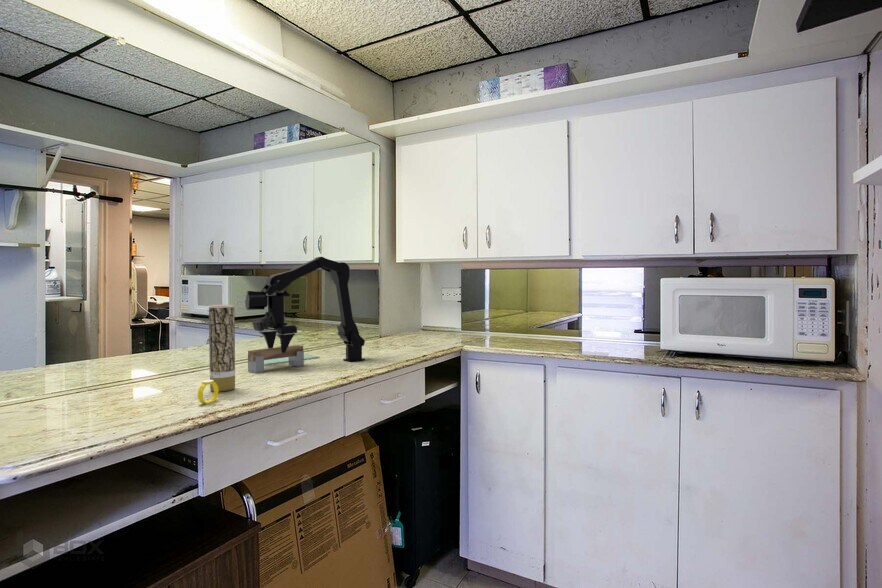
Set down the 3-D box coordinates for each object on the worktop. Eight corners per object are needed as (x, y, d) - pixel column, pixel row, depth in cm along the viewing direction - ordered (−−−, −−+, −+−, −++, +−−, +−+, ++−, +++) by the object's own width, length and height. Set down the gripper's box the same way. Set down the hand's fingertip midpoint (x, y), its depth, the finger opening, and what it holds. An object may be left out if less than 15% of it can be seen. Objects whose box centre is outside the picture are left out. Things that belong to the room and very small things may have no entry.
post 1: (264, 372, 166) (263, 355, 166) (255, 373, 164) (255, 356, 164) (256, 370, 170) (255, 354, 170) (247, 371, 168) (247, 355, 167)
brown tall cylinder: (225, 392, 135) (224, 306, 135) (204, 391, 137) (203, 305, 136) (240, 387, 142) (239, 304, 141) (220, 386, 143) (219, 304, 143)
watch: (204, 407, 121) (203, 384, 121) (195, 406, 122) (194, 383, 122) (221, 399, 127) (220, 378, 127) (213, 399, 128) (211, 377, 127)
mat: (319, 358, 196) (319, 356, 196) (265, 365, 178) (265, 364, 178) (307, 355, 202) (307, 354, 202) (253, 362, 184) (253, 361, 184)
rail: (303, 354, 179) (303, 345, 179) (252, 361, 164) (252, 351, 164) (298, 354, 181) (298, 345, 181) (248, 360, 166) (247, 350, 166)
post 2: (303, 365, 178) (303, 350, 178) (296, 367, 176) (296, 351, 176) (295, 364, 182) (295, 349, 182) (288, 365, 180) (288, 350, 179)
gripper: (242, 309, 172) (243, 351, 173) (268, 311, 160) (269, 357, 160) (271, 307, 181) (271, 348, 181) (297, 309, 168) (298, 353, 169)
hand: (276, 351), depth 173 cm, fingers open, 9 cm apart
